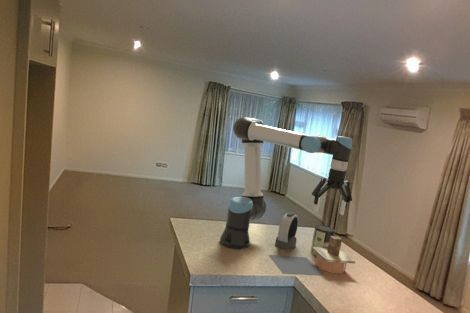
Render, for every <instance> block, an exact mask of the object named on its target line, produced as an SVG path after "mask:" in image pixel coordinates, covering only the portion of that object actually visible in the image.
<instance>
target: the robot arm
mask: <svg viewBox="0 0 470 313" xmlns="http://www.w3.org/2000/svg"><path fill="white" fill-rule="evenodd" d="M232 131H233V134H234V135H235V137H236V138H237V139H240V140H241V145H242V146H243V147H244V191H243V193H242V194H241V196H234V197H232V198H231V199H230V201H229V202H228V203H229V204H228V209H227V216H226V223H225V227H224V229H223V232H222V233H221V235H220V238H219V243H220V244H221V245H222V246H224V247H227V248H229V249H233V250H234V249H236V250H242V249H243V250H245V249H248V248H249V247H250V244H251V241H250V233H249V228H250V223H251V222H253V221H257V220H259V219H261V218H263V217H264V216H265V215H266V213H267V210H268V204H267V202H266V201H265V200H266V199H265V198H264V196H265V195H264V194H263V192H262V182H261V180H262V179H261V178H262V174H261V172H262V171H261V170H262V168H261V166H262V165H261V160H262V159H261V156H262V155H261V154H262V153H261V152H262V150H261V148H262V146H263V145H264V142H265V143H270V144H273V145H274V144H275V145H278V146H281V147H282V146H283V147H286V148H291V149H295V150H300V151H303V152H306V153H307V154H308V153H309V154H314V153H315V154H317V153H319V154H320V153H322V154H326V155H331V156H332V158H331V162H330V166H329V167H330V168H329V170H328V177H324V176H322V177H321V179H320V181H319V183H318V184H317V185H316V187H315V188H314V190H313V191H312V192H311V195H312V196H313V197H314V199H313V204H314V207H313V211H314V212H315V213H318V212H319V208H320V207H319V206H320V203H321V197H322V195H324V194H326V192H327V191H329V190H331V189H333V190H334V189H335V190H338V192H339V193H340V195H341V197H342V199H343V200H341V204H340V206H339V207H340V208H339V212H338V213H339V214H340V215H341V216H344V214H345V209H347V206H348V203H350V202H352V201H353V197H352V192H351V187H350V185H351V184H350V183H351V182H350V181H348V180H347V179H346V174H347V172H346V171H347V170H348V164H349V160H350V156H351V152H352V148H353V147H352V146H353V138H351V137H347V136H342V135H338V136H336V138H330V137H327V136H326V137H325V136H321V135H315V134H314V135H311V134H308V133H306V134H305V133H301V132H297V131H293V130H286V129H284V128H283V129H282V128H278V127H273V126H269V125H266V124H265V122H264V121H263V120H261V119H259V118H255V117H248V116H243V117H239V118H237V119H236V120H235V121H234V123H233V127H232ZM343 185H344V187H343ZM344 188H345V190H344Z"/></svg>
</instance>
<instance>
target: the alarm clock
mask: <svg viewBox="0 0 470 313" xmlns="http://www.w3.org/2000/svg"><path fill="white" fill-rule="evenodd" d="M298 217H299V216H298V215H296V213H295V212H293V211H292V212H291V211H288V212H286V213H285V214H284V215H283V217H282V218H281V220H280V224H279V226H278V227H279V228H278V232H277V236H276V239H275V243H274V247H279V248H281V249H285V250H292V249H296V246H297V241H298V240H297V237H296V235H297V232H298V226H299V218H298Z"/></svg>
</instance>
